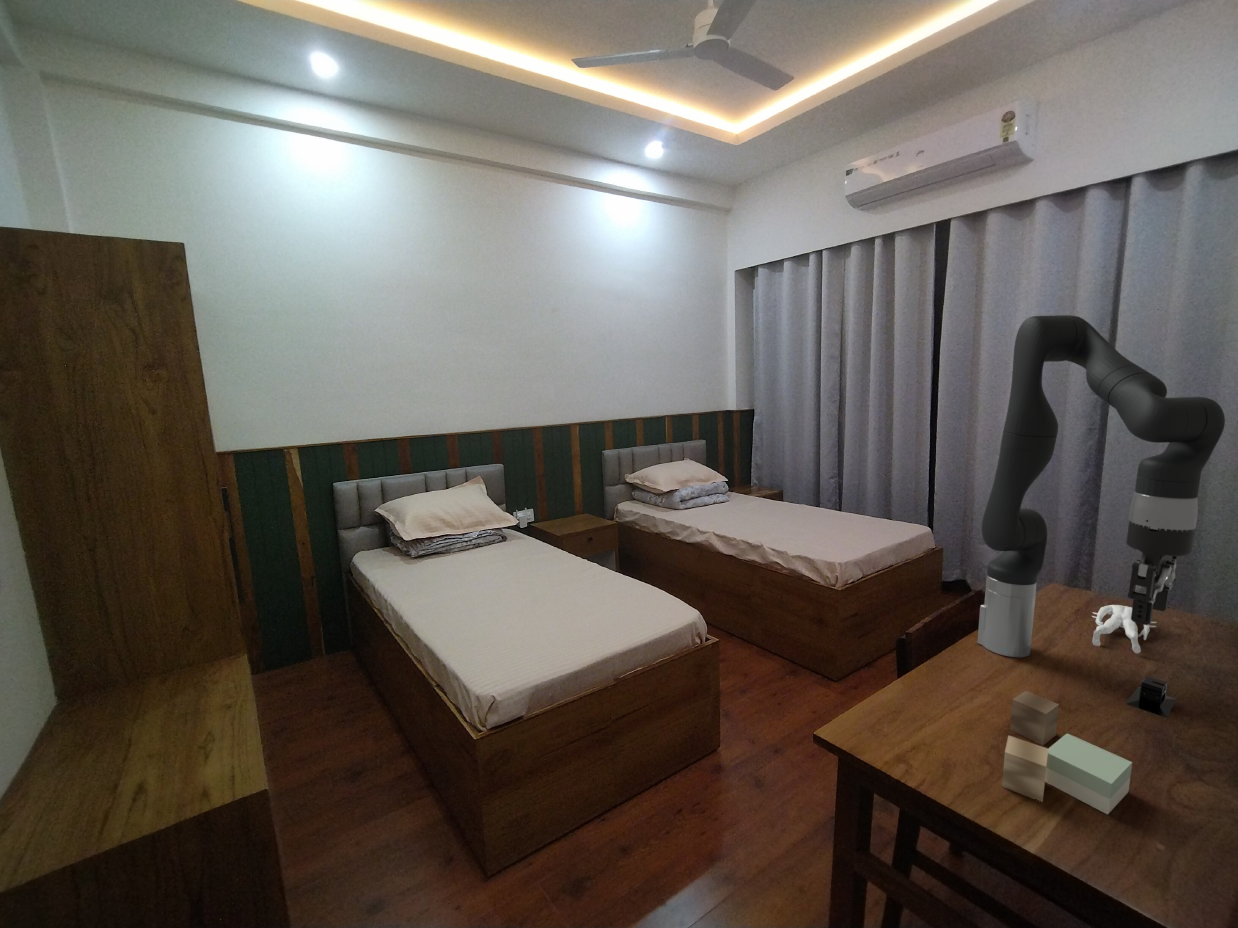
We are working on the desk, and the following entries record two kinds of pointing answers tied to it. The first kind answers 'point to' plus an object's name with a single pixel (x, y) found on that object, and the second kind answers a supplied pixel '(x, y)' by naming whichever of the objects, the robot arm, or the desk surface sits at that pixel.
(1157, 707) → the black angular block
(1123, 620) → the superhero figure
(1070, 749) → the brick base
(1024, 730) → the walnut brick
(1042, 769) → the brick
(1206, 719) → the desk surface
